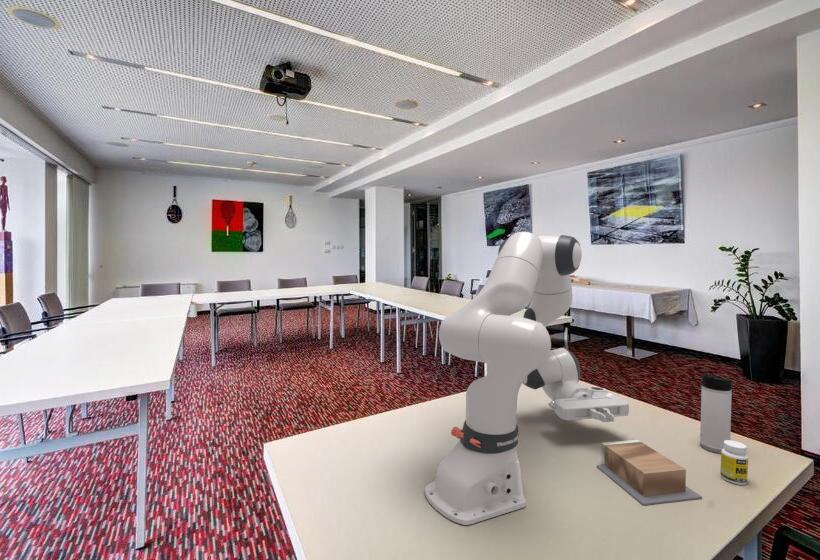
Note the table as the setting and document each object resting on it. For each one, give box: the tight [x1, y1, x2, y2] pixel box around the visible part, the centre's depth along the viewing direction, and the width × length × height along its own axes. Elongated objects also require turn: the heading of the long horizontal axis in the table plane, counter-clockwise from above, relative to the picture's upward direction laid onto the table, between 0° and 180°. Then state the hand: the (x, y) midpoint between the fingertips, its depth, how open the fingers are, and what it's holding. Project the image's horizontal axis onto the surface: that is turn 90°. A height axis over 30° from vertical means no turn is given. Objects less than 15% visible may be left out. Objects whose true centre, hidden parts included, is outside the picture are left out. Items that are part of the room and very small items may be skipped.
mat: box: [596, 464, 703, 507], centre depth 86 cm, size 15×14×1 cm
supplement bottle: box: [719, 439, 749, 486], centre depth 87 cm, size 5×5×8 cm
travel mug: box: [699, 373, 733, 455], centre depth 101 cm, size 6×7×20 cm
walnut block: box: [600, 439, 687, 497], centre depth 88 cm, size 5×10×14 cm
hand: (609, 419), depth 98 cm, fingers closed
